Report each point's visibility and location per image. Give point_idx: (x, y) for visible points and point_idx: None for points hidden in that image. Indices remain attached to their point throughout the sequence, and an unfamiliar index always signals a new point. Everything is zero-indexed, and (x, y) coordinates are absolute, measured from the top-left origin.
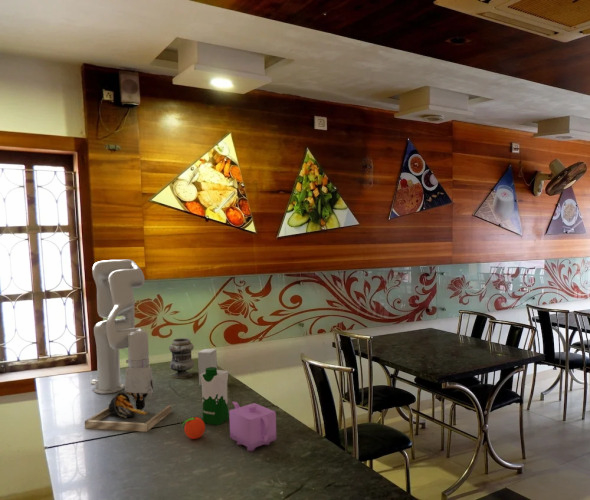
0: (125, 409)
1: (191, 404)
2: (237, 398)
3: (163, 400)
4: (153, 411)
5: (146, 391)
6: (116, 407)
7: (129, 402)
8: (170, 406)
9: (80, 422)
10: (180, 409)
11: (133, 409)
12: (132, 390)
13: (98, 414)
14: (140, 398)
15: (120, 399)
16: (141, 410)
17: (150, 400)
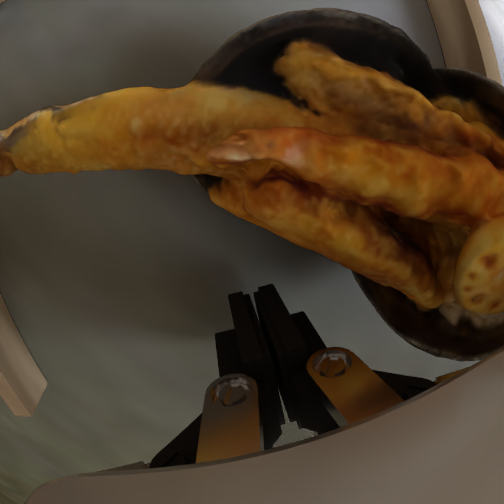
0: (253, 29)
1: (59, 473)
2: (5, 501)
3: None
4: (151, 360)
5: (33, 502)
6: (427, 75)
7: (373, 264)
8: (7, 402)
9: (494, 23)
10: (31, 421)
11: (144, 100)
12: (450, 437)
13: (474, 25)
14: (249, 397)
15: (495, 170)
16: (12, 132)
17: None
